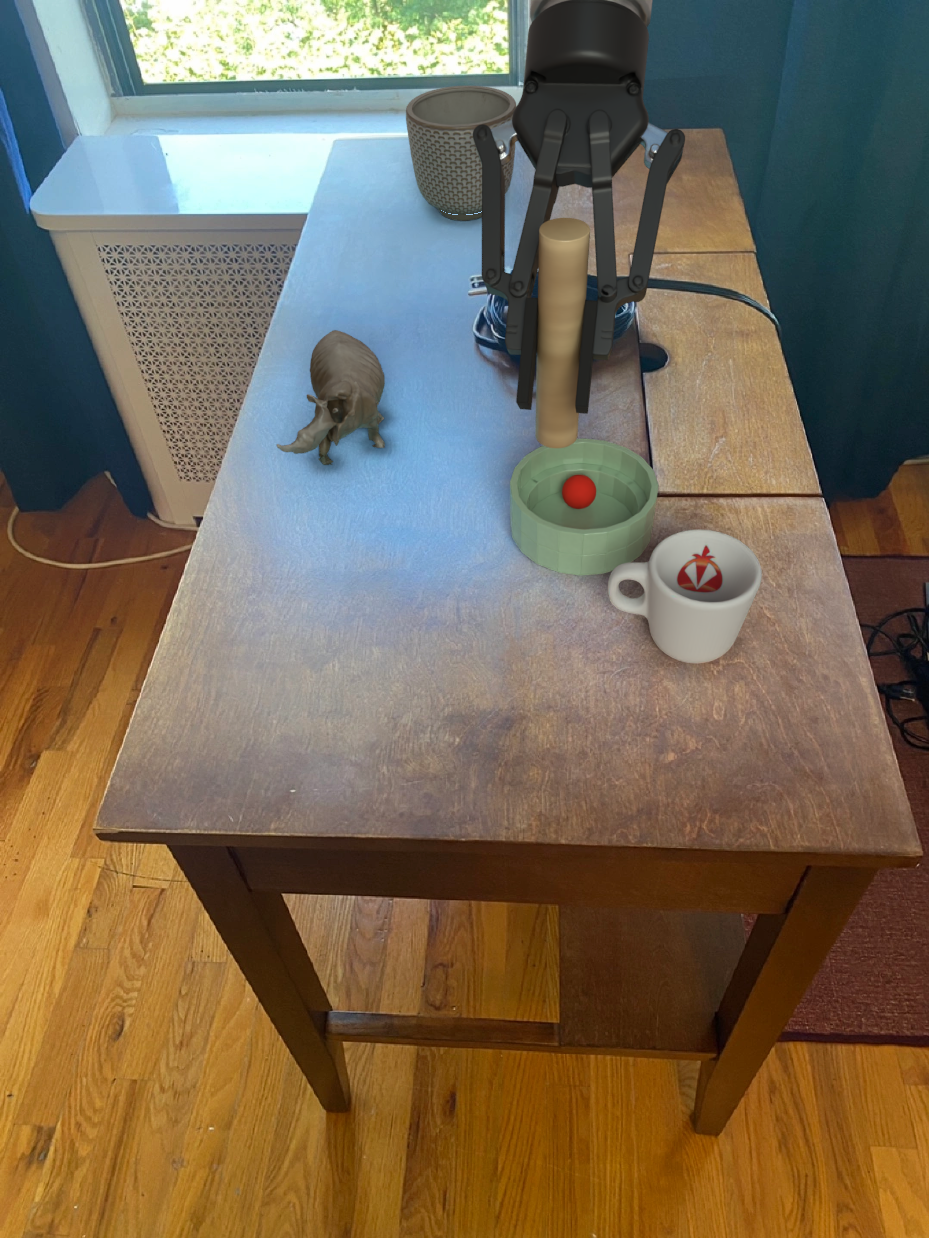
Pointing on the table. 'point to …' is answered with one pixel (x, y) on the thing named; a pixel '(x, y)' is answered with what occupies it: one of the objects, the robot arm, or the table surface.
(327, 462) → the grey animal figure
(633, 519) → the bowl
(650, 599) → the cup
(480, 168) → the planter
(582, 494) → the cherry tomato
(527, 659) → the table surface
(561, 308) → the tan wooden cylinder
